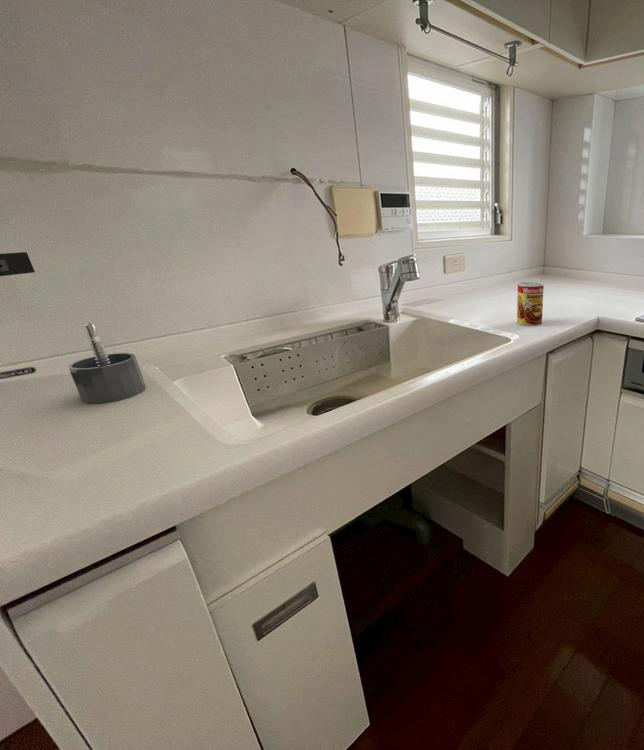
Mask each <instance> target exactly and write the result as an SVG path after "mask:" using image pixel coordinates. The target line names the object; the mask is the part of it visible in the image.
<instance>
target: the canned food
mask: <svg viewBox="0 0 644 750" xmlns="http://www.w3.org/2000/svg"><path fill="white" fill-rule="evenodd" d="M544 286H545V284H544V283H542V282H536V281H524V282H518V283H517V300H516V301H517V304H516V323H517V324H518V325H521V326H527V327H533V326H540V325H542V324H543V308H544V306H543V305H544V289H545V288H544Z"/></svg>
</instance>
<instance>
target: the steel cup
mask: <svg viewBox="0 0 644 750" xmlns="http://www.w3.org/2000/svg"><path fill="white" fill-rule="evenodd" d="M106 355H108V357H107V358H109V360H108V361H110V364H111V365H107V366H102V367H99V366H97V365H98V364H97V363H96V362H97V361H96V360H95V357H93V356H89V357H86V358H82V359H78V360H76V361H74V362H71V363H69V364H68V365H67V369H68V371H69V374H70V376H71V378H72V381H73V383H74V385H75V388H76V390H77V393H78V395H79V397H80V399H81V401H82V402H83V403H85V404H91V405H92V404H93V405H96V404H97V405H98V404H108V403H113V402H117V401H121V400H122V401H123V400H126V399H128V398H131V397H134V396H137V395H139V394H141V393H142V392H144V391H145V390H146V388H147V387H146V383H145V380H144V377H143V374H142V371H141V368H140V366H139V362H138V360H137V357H136V355H135V354H134V353H129V352H115V353H106Z"/></svg>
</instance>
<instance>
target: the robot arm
mask: <svg viewBox="0 0 644 750" xmlns="http://www.w3.org/2000/svg"><path fill="white" fill-rule="evenodd" d="M33 273H36V272H35V269H34V266H33V264H32V262H31V259H30V257H29V254H28V252H26V251H21V252H7V253H6V252H5V253H0V277H5V276H16V275H24V274H33Z"/></svg>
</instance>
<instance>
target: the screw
mask: <svg viewBox="0 0 644 750" xmlns="http://www.w3.org/2000/svg"><path fill="white" fill-rule="evenodd" d="M83 327H84V330H85V333H86V335H87V336H86V337H87V341H88V345H90V346H89V348H91V351H92V353H91V354H93V356H92V357H95V360H96V361H97V362H96V363H97V364H98V365H97V366H99V367H102V366H107V365H111V364H110V361H108V360H109V358H107V357H108V355H106V354H108V352H107V351H106V348H105V345H104V342H102V341H103V339H101V335H99V334H98V331H97V328H96V326H95V324H94V323H91V322H87V323H85V324H83Z"/></svg>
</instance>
